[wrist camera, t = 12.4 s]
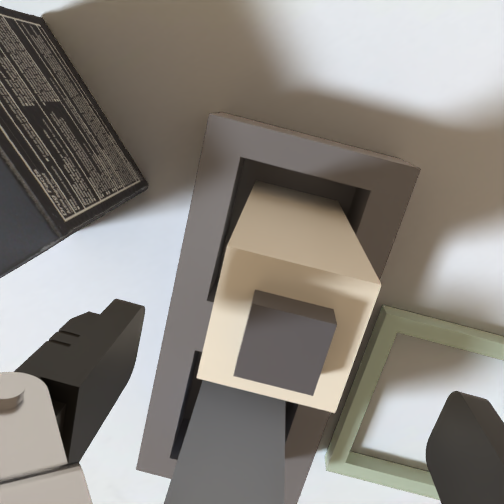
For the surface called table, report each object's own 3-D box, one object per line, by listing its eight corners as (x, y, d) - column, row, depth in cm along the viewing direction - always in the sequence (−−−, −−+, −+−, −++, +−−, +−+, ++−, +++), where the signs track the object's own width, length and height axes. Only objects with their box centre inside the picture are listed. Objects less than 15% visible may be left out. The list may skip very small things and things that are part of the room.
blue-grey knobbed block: (285, 362, 28) (283, 569, 15) (267, 421, 29) (251, 654, 17) (214, 343, 28) (153, 536, 15) (199, 403, 29) (132, 623, 17)
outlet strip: (399, 158, 24) (422, 169, 20) (294, 455, 31) (295, 511, 27) (221, 111, 24) (207, 113, 20) (155, 419, 31) (134, 469, 27)
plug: (337, 201, 24) (389, 298, 12) (314, 277, 26) (338, 435, 13) (256, 180, 24) (221, 257, 12) (237, 257, 26) (189, 397, 13)
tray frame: (573, 354, 27) (586, 365, 26) (492, 500, 31) (499, 515, 30) (382, 304, 27) (386, 313, 26) (324, 457, 31) (326, 470, 30)
